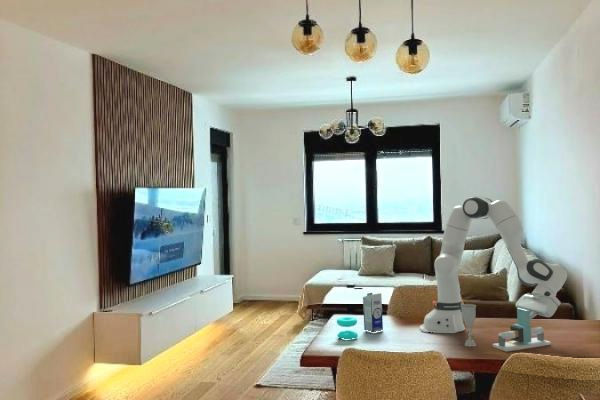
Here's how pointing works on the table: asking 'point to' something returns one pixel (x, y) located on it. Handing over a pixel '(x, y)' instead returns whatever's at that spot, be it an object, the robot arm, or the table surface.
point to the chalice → (469, 320)
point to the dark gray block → (520, 333)
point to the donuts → (347, 323)
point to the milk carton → (373, 312)
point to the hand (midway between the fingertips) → (525, 319)
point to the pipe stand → (517, 345)
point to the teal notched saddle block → (524, 324)
